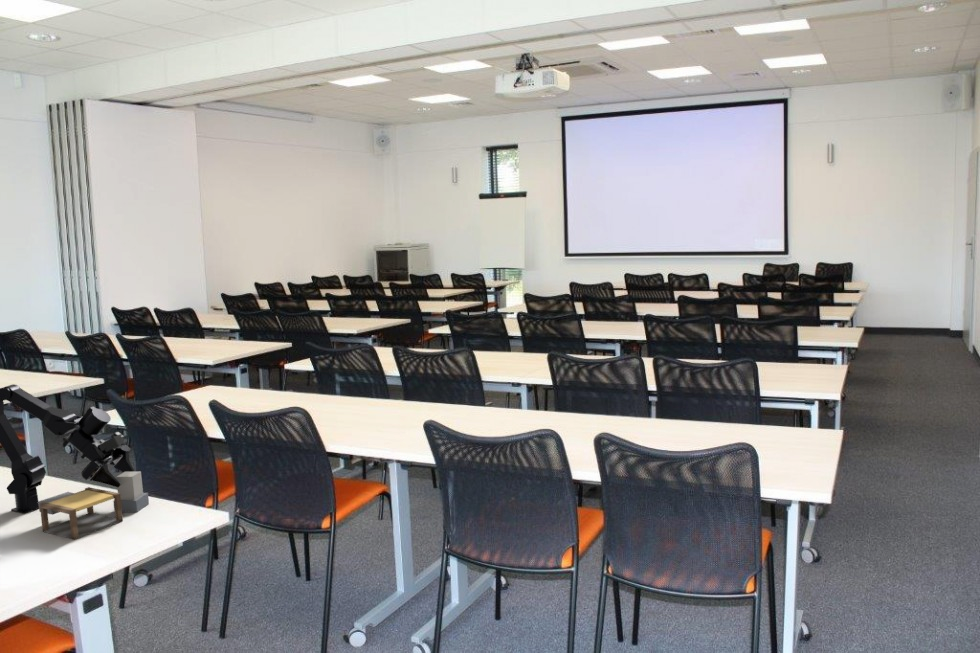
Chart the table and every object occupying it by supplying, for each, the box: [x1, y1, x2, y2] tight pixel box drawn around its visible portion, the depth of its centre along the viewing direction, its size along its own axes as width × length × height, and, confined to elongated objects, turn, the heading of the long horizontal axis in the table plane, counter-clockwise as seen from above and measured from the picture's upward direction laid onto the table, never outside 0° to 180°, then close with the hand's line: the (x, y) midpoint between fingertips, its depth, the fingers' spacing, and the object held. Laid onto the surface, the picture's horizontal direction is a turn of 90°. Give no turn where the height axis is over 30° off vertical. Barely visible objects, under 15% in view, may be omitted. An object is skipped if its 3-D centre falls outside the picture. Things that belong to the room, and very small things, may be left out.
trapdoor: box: [38, 489, 114, 516], centre depth 233 cm, size 18×12×4 cm, turn 61°
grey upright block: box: [115, 470, 144, 500], centre depth 246 cm, size 5×5×7 cm
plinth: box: [113, 492, 150, 513], centre depth 246 cm, size 7×7×4 cm
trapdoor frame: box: [40, 486, 124, 540], centre depth 232 cm, size 14×15×8 cm
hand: (127, 481), depth 245 cm, fingers open, 9 cm apart
